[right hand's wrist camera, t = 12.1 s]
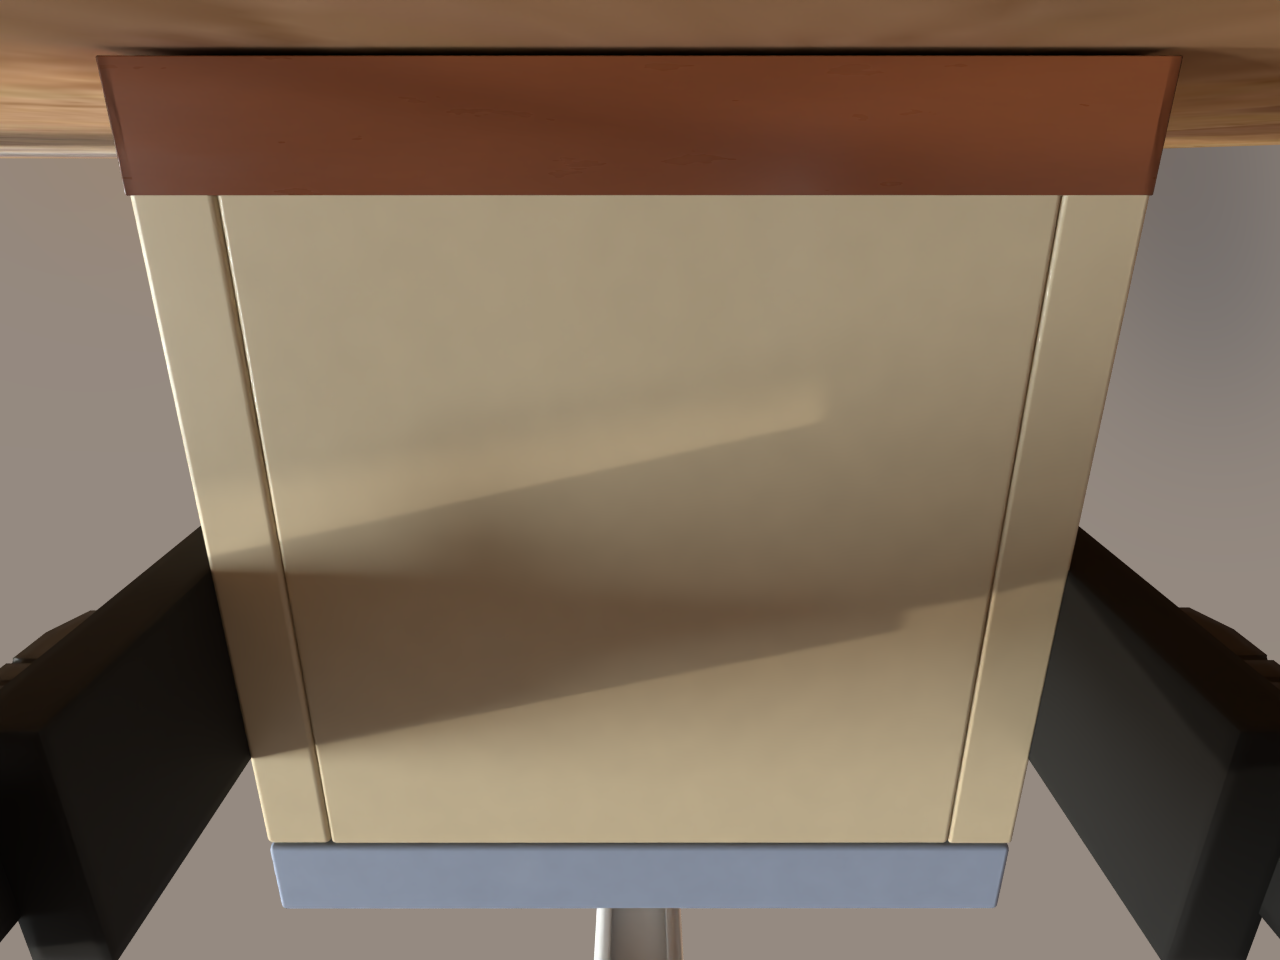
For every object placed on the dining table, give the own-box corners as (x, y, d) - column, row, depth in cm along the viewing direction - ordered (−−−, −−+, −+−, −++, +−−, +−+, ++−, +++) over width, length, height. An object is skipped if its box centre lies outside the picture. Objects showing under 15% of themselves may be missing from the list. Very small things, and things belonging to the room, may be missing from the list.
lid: (791, 444, 27) (774, 672, 30) (488, 444, 27) (504, 673, 30) (1011, 847, 11) (927, 1240, 14) (267, 847, 11) (352, 1241, 14)
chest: (819, 130, 23) (795, 450, 26) (459, 130, 23) (483, 450, 26) (1183, 55, 7) (1013, 844, 11) (94, 56, 7) (266, 845, 11)
